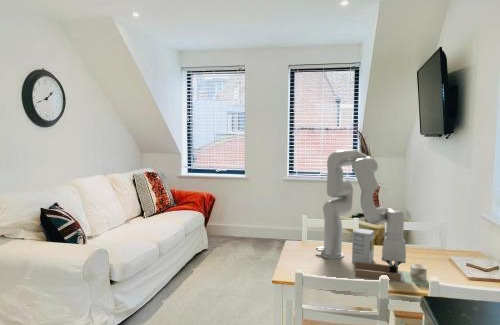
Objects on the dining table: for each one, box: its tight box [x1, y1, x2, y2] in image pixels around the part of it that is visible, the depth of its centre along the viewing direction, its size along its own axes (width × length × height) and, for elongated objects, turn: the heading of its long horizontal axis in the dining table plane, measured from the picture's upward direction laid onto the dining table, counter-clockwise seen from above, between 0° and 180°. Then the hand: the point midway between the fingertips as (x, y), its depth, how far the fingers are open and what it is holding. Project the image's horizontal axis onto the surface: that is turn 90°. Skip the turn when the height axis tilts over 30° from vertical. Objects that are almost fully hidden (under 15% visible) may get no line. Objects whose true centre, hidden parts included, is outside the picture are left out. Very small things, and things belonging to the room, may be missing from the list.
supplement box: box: [351, 227, 375, 263], centre depth 188 cm, size 10×9×17 cm
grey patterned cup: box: [409, 263, 428, 282], centre depth 165 cm, size 6×6×6 cm
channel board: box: [354, 262, 430, 287], centre depth 169 cm, size 32×14×4 cm, turn 74°
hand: (392, 273), depth 169 cm, fingers closed
